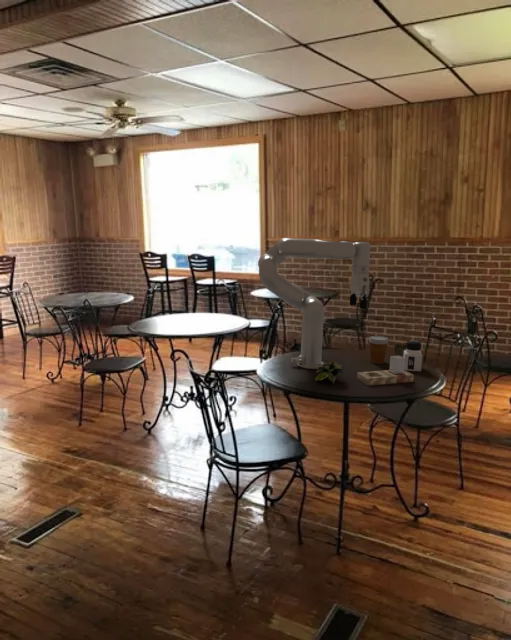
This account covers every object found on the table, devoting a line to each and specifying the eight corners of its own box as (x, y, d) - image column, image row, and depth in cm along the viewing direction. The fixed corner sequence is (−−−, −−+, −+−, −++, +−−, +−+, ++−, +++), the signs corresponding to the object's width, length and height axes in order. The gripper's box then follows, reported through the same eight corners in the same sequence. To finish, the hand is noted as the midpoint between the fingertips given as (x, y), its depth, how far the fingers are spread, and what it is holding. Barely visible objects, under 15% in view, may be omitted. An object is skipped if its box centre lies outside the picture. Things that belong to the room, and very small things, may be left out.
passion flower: (328, 391, 230) (343, 367, 231) (337, 394, 219) (352, 370, 220) (308, 377, 228) (323, 353, 229) (315, 380, 217) (331, 355, 219)
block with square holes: (367, 385, 221) (367, 378, 220) (356, 379, 229) (357, 372, 229) (413, 381, 228) (413, 374, 227) (401, 375, 236) (401, 369, 236)
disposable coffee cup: (363, 362, 256) (365, 338, 254) (371, 358, 264) (373, 334, 262) (382, 365, 251) (384, 341, 249) (390, 361, 259) (391, 337, 256)
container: (421, 371, 243) (423, 344, 240) (403, 370, 244) (405, 342, 242) (419, 367, 250) (421, 340, 248) (402, 365, 252) (404, 339, 249)
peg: (394, 381, 228) (396, 358, 226) (388, 378, 232) (390, 356, 230) (403, 380, 229) (405, 358, 227) (397, 377, 233) (399, 355, 231)
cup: (406, 364, 254) (407, 348, 253) (391, 362, 258) (392, 346, 256) (410, 361, 260) (412, 345, 259) (395, 358, 264) (397, 343, 263)
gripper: (377, 271, 234) (374, 309, 238) (358, 267, 251) (356, 303, 254) (361, 271, 232) (359, 310, 235) (344, 267, 248) (342, 303, 252)
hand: (357, 306), depth 245 cm, fingers open, 9 cm apart
